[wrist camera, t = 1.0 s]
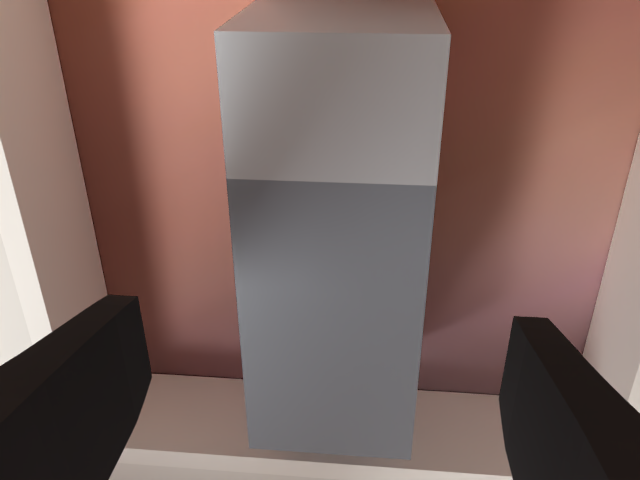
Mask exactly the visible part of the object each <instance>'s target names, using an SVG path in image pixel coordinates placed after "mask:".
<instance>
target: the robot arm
mask: <svg viewBox="0 0 640 480" xmlns="http://www.w3.org/2000/svg"><path fill="white" fill-rule="evenodd" d="M151 379H152V373H151V368H150V362H149V356H148V351H147V345H146V340H145V334H144V328H143V323H142V317H141V312H140V306H139V300H138V296H120V295H107V296H105V297H103V298H102V299H100V300H98V301H97V302H95V303H94V304H92V305H91V306H89V307H88V308H86V309H85V310H83V311H82V312H80V313H79V314H77V315H76V316H74V317H73V318H72V319H70V320H69V321H67V322H66V323H64V324H63V325H61V326H60V327H58V328H57V329H56V330H54V331H53V332H51V333H50V334H48V335H47V336H45V337H44V338H42V339H41V340H39V341H38V342H36V343H35V344H33V345H32V346H30V347H29V348H27V349H26V350H24V351H23V352H21V353H20V354H18V355H17V356H15V357H13V358H12V359H10V360H9V361H7V362H5V363H4V364H2V365H1V366H0V480H109V478H110V476H111V474H112V472H113V470H114V468H115V466H116V464H117V462H118V460H119V458H120V456H121V454H122V452H123V450H124V448H125V446H126V444H127V442H128V440H129V438H130V436H131V434H132V432H133V430H134V427H135V425H136V423H137V421H138V418H139V415H140V412H141V409H142V407H143V404H144V401H145V398H146V395H147V392H148V388H149V385H150V382H151ZM499 406H500V414H501V422H502V430H503V437H504V444H505V450H506V454H507V458H508V462H509V466H510V470H511V474H512V478H513V480H640V413H639V412H638V411H637V410H636V409H635V408H634V407H633V406H632V405H631V404H630V403H629V402H628V401H626V400H625V399H624V398H623V397H622V396H621V395H620V394H619V393H618V392H617V391H616V390H615V389H614V388H613V387H612V386H611V385H610V384H609V383H608V382H607V381H606V380H605V379H604V378H603V377H602V376H601V375H600V374H599V373H598V371H597V370H596V369H595V368H594V367H593V366H592V365H591V364H590V363H589V362H588V361H587V360H586V359H585V358H584V357H583V356H582V355H581V353H580V352H579V351H578V350H577V349H576V348H575V347H574V346H573V345H572V344H571V343H570V342H569V340H568V339H567V338H566V337H565V336H564V335H563V334H562V333H561V332H560V331H559V330H558V328H557V327H556V326H555V325H554V324H553V323H552V322H551V321H550V320H549V319H548V318H538V317H519V316H514V318H513V323H512V329H511V334H510V340H509V345H508V351H507V356H506V362H505V367H504V373H503V378H502V384H501V389H500V395H499Z"/></svg>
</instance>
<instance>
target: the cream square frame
mask: <svg viewBox="0 0 640 480" xmlns="http://www.w3.org/2000/svg"><path fill="white" fill-rule="evenodd" d="M105 296H107V290H106V285H105V280H104V275H103V270H102V265H101V260H100V256H99V251H98V246H97V241H96V236H95V231H94V226H93V221H92V217H91V212H90V207H89V202H88V197H87V192H86V187H85V182H84V178H83V173H82V168H81V163H80V158H79V153H78V148H77V143H76V139H75V134H74V129H73V124H72V119H71V114H70V109H69V104H68V100H67V95H66V90H65V85H64V80H63V75H62V70H61V65H60V61H59V56H58V51H57V46H56V41H55V36H54V31H53V26H52V22H51V17H50V12H49V7H48V2H47V0H0V366H1V365H2V364H4V363H5V362H7V361H9V360H10V359H12V358H13V357H15V356H17V355H18V354H20V353H21V352H23V351H24V350H26V349H27V348H29V347H30V346H32V345H33V344H35V343H36V342H38V341H39V340H41V339H42V338H44V337H45V336H47V335H48V334H50V333H51V332H53V331H54V330H56V329H57V328H58V327H60V326H61V325H63V324H64V323H66V322H67V321H69V320H70V319H72V318H73V317H74V316H76V315H77V314H79V313H80V312H82V311H83V310H85V309H86V308H88V307H89V306H91V305H92V304H94V303H95V302H97V301H98V300H100V299H102V298H103V297H105ZM582 356H583V357H584V358H585V359H586V360H587V361H588V362H589V363H590V364H591V365H592V366H593V367H594V368H595V369H596V370H597V371H598V373H599V374H600V375H601V376H602V377H603V378H604V379H605V380H606V381H607V382H608V383H609V384H610V385H611V386H612V387H613V388H614V389H615V390H616V391H617V392H618V393H619V394H620V395H621V396H622V397H623V398H624V399H625V400H626V401H628V402H629V403H630V404H631V405H632V406H633V407H634V408H635V409H636V410H637V411H638V412H639V413H640V132H639V136H638V140H637V144H636V148H635V152H634V156H633V160H632V164H631V168H630V172H629V175H628V179H627V183H626V187H625V191H624V195H623V199H622V203H621V207H620V211H619V214H618V218H617V222H616V226H615V230H614V234H613V238H612V242H611V246H610V250H609V253H608V257H607V261H606V265H605V269H604V273H603V277H602V281H601V285H600V289H599V293H598V296H597V300H596V304H595V308H594V312H593V316H592V320H591V324H590V328H589V332H588V335H587V339H586V343H585V347H584V351H583V355H582ZM109 480H513V478H512V474H511V470H510V466H509V462H508V458H507V454H506V450H505V444H504V437H503V430H502V422H501V414H500V406H499V395H487V394H471V393H455V392H439V391H423V390H417V400H416V410H415V421H414V432H413V442H412V453H411V460H404V459H390V458H376V457H362V456H348V455H334V454H320V453H306V452H292V451H279V450H265V449H251V448H249V442H248V430H247V418H246V406H245V394H244V382H243V379H231V378H215V377H199V376H183V375H167V374H152V379H151V382H150V385H149V388H148V392H147V395H146V398H145V401H144V404H143V407H142V409H141V412H140V415H139V418H138V421H137V423H136V425H135V427H134V430H133V432H132V434H131V436H130V438H129V440H128V442H127V444H126V446H125V448H124V450H123V452H122V454H121V456H120V458H119V460H118V462H117V464H116V466H115V468H114V470H113V472H112V474H111V476H110V478H109Z"/></svg>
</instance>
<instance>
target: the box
mask: <svg viewBox="0 0 640 480" xmlns="http://www.w3.org/2000/svg"><path fill="white" fill-rule="evenodd" d="M214 38H215V49H216V61H217V73H218V85H219V97H220V109H221V121H222V133H223V145H224V156H225V168H226V180H227V192H228V204H229V216H230V228H231V240H232V251H233V263H234V275H235V287H236V299H237V311H238V323H239V335H240V346H241V358H242V370H243V382H244V394H245V406H246V418H247V430H248V442H249V448H251V449H265V450H279V451H292V452H306V453H320V454H334V455H348V456H362V457H376V458H390V459H404V460H411V453H412V442H413V432H414V421H415V410H416V400H417V389H418V379H419V368H420V358H421V347H422V337H423V326H424V316H425V305H426V295H427V284H428V274H429V263H430V252H431V242H432V231H433V221H434V210H435V200H436V189H437V179H438V168H439V158H440V147H441V137H442V126H443V115H444V105H445V94H446V84H447V73H448V63H449V52H450V42H451V33H450V31H449V29H448V27H447V25H446V23H445V21H444V19H443V17H442V14H441V12H440V10H439V8H438V6H437V4H436V2H435V0H255V1H254V2H252V3H251V4H250V5H248V6H247V7H246V8H244V9H243V10H242V11H240V12H239V13H238V14H236V15H235V16H234V17H232V18H231V19H230V20H228V21H227V22H226V23H224V24H223V25H222V26H220V27H219V28H218V29H216V30H215V31H214Z"/></svg>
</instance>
